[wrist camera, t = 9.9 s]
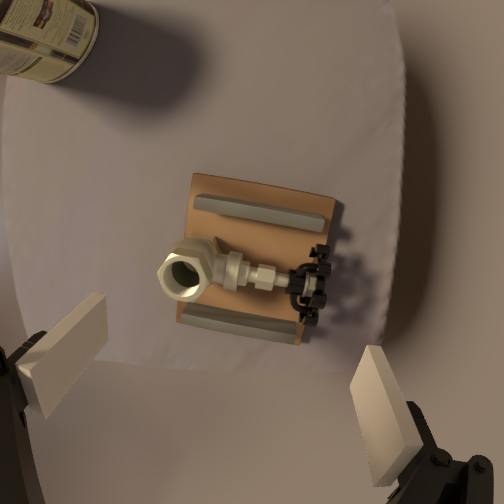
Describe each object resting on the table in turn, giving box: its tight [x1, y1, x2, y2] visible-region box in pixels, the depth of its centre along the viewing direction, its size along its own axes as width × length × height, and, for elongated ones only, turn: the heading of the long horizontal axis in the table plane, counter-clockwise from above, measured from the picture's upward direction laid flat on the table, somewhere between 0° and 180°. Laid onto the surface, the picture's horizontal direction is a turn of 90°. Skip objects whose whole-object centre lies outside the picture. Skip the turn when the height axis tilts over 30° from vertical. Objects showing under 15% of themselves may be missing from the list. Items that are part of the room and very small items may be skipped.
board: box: [176, 173, 336, 345], centre depth 28 cm, size 14×12×4 cm
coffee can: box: [0, 0, 99, 83], centre depth 17 cm, size 10×10×14 cm
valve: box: [157, 232, 331, 327], centre depth 25 cm, size 7×7×12 cm
